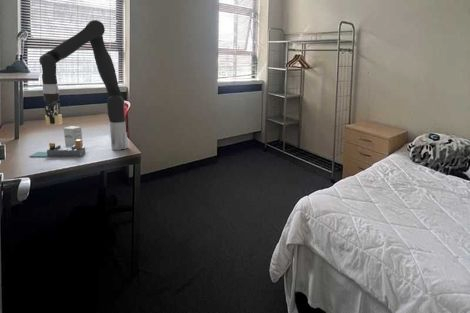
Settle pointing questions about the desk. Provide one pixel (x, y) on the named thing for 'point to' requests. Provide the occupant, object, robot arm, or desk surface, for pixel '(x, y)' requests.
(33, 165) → the desk surface
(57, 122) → the tan rectangular block
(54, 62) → the robot arm
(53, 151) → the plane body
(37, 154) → the mat
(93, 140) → the desk surface
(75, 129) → the supplement box
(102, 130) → the desk surface
